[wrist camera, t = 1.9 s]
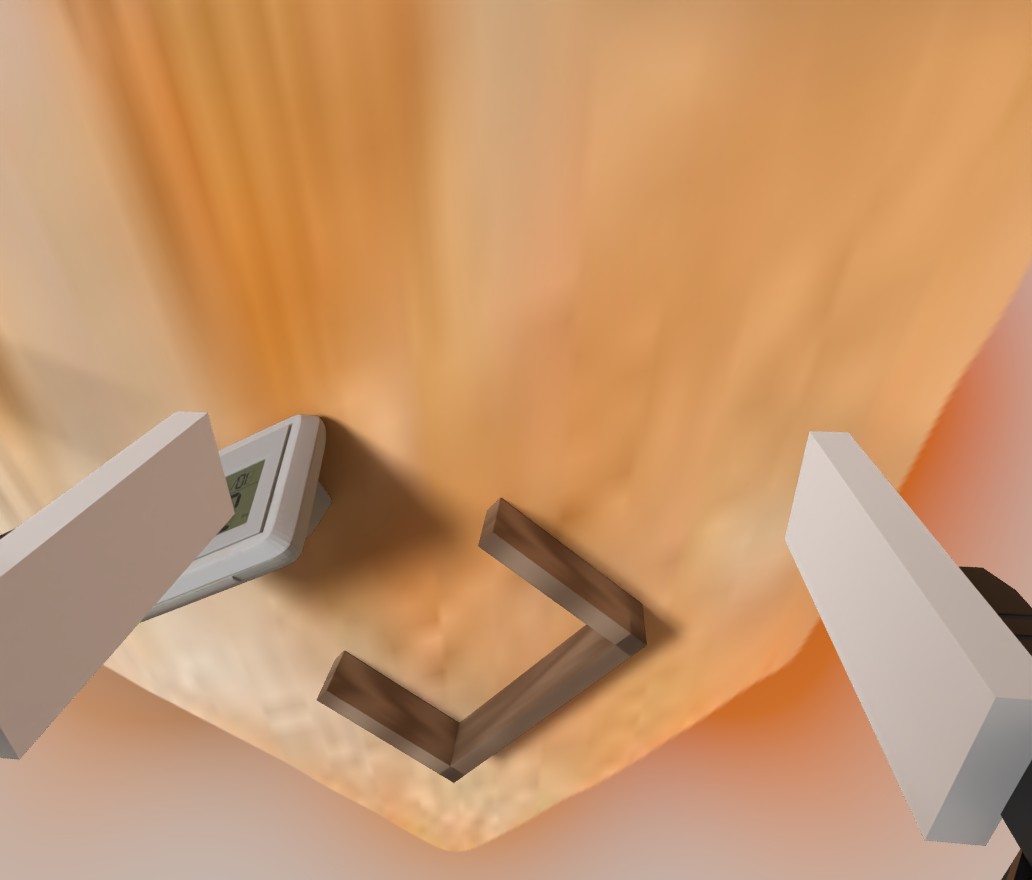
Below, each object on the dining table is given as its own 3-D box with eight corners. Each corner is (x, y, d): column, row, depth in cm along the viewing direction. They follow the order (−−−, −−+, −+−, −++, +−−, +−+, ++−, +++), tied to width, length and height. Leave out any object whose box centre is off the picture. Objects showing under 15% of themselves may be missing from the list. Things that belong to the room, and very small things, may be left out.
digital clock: (331, 401, 41) (254, 487, 31) (380, 514, 44) (325, 621, 35) (124, 447, 44) (0, 538, 35) (187, 549, 48) (89, 655, 38)
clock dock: (335, 660, 52) (316, 700, 48) (500, 497, 43) (492, 532, 39) (462, 739, 55) (453, 782, 51) (642, 604, 46) (646, 645, 42)
